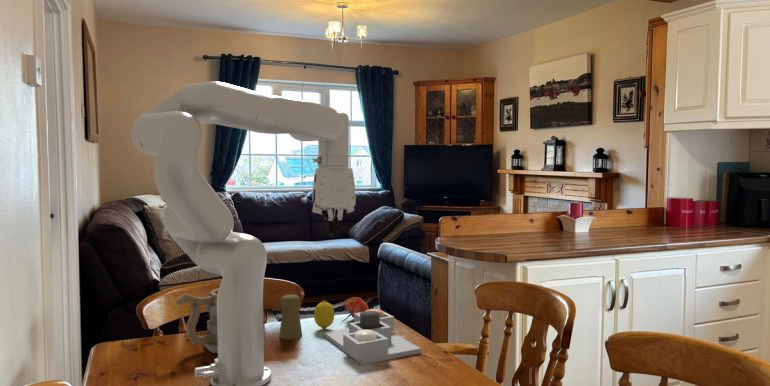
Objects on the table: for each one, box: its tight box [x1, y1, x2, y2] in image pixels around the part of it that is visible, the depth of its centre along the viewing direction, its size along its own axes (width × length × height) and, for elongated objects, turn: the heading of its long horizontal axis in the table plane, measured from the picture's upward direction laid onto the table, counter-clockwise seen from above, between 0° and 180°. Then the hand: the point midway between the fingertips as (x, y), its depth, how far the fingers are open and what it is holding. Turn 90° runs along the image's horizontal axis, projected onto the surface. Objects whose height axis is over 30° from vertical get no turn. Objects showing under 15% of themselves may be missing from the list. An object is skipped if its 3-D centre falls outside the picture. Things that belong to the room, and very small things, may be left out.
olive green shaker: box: [278, 294, 303, 341], centre depth 150 cm, size 6×6×11 cm
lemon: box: [313, 300, 335, 330], centre depth 156 cm, size 6×6×8 cm
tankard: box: [175, 288, 219, 354], centre depth 141 cm, size 20×13×15 cm, turn 122°
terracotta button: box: [366, 308, 383, 318], centre depth 153 cm, size 5×5×4 cm
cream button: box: [355, 330, 376, 342], centre depth 135 cm, size 5×5×4 cm
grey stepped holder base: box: [322, 310, 422, 366], centre depth 144 cm, size 18×23×5 cm
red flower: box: [341, 296, 370, 323], centre depth 164 cm, size 7×7×10 cm
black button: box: [360, 311, 380, 330], centre depth 144 cm, size 5×5×4 cm
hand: (333, 235), depth 141 cm, fingers closed
